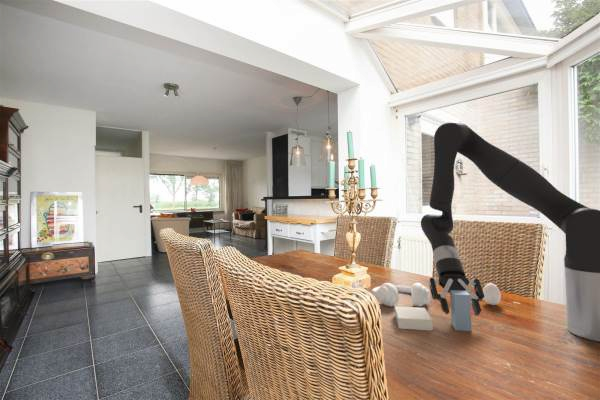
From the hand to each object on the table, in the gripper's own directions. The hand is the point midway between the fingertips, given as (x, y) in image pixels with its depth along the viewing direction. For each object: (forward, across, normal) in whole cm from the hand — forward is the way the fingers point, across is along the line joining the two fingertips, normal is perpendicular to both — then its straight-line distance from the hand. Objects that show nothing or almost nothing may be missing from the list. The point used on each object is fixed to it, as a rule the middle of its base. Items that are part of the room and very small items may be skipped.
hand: (462, 313), depth 78 cm
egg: (-12, +16, +18) cm, 27 cm away
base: (+1, -13, +5) cm, 14 cm away
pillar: (+2, 0, +4) cm, 5 cm away
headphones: (-13, -14, +20) cm, 28 cm away
